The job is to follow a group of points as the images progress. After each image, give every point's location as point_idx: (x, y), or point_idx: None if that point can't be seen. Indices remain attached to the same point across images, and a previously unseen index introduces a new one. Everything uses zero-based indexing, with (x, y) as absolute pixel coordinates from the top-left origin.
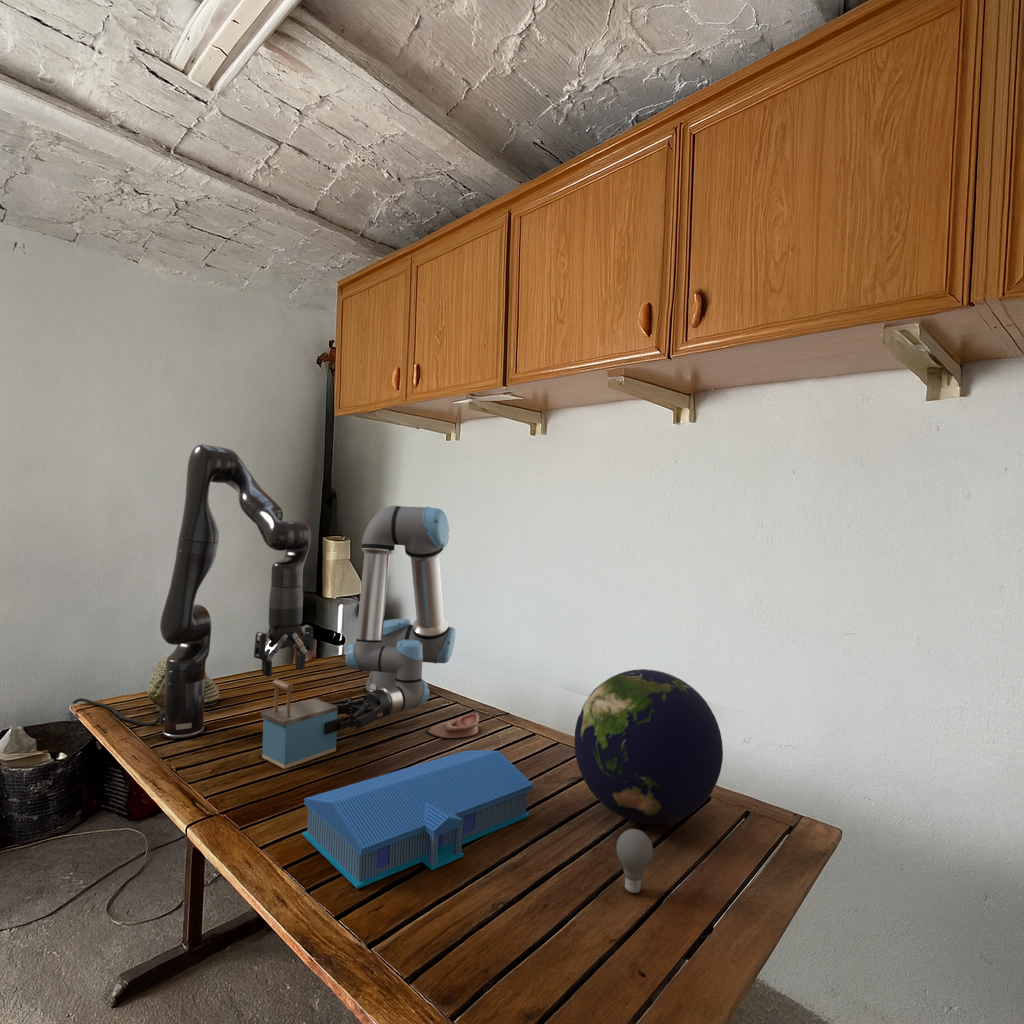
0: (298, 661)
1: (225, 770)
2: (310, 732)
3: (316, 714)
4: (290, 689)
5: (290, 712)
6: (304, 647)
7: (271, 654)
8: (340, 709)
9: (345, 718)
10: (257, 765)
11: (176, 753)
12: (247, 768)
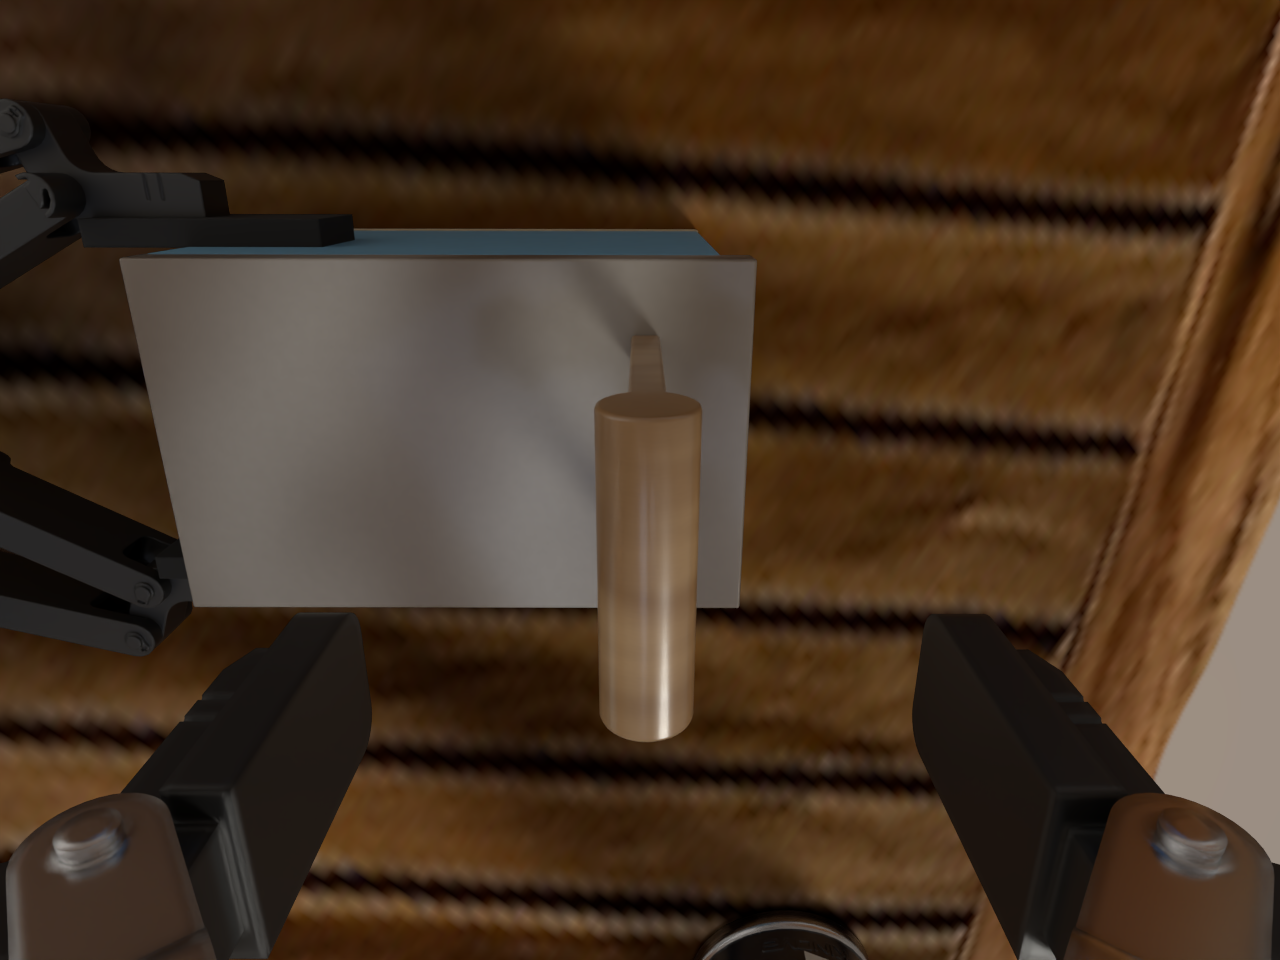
0: (314, 761)
1: (922, 460)
2: (477, 244)
3: (384, 256)
4: (644, 400)
5: (563, 436)
6: (18, 950)
7: (1180, 927)
8: (31, 502)
9: (112, 218)
10: (770, 394)
11: (940, 799)
12: (831, 398)
